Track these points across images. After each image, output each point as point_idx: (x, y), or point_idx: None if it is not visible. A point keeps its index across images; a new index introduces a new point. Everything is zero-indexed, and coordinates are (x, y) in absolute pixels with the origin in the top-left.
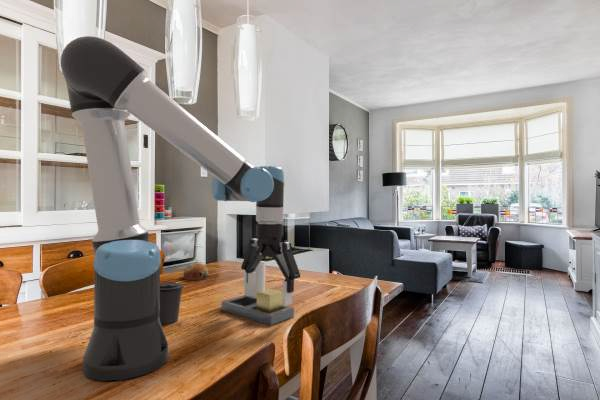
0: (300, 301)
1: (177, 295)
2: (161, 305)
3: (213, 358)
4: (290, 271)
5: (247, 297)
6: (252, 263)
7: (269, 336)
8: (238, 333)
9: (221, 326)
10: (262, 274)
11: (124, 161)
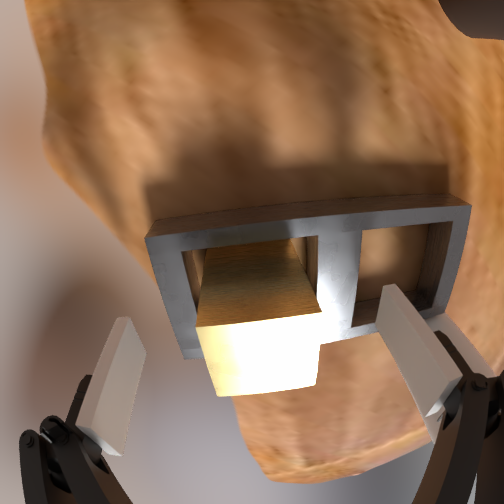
0: (296, 409)
1: None
2: None
3: None
4: (33, 471)
5: (425, 309)
6: (459, 458)
7: (71, 149)
8: (172, 60)
9: (302, 53)
10: (427, 417)
11: None
